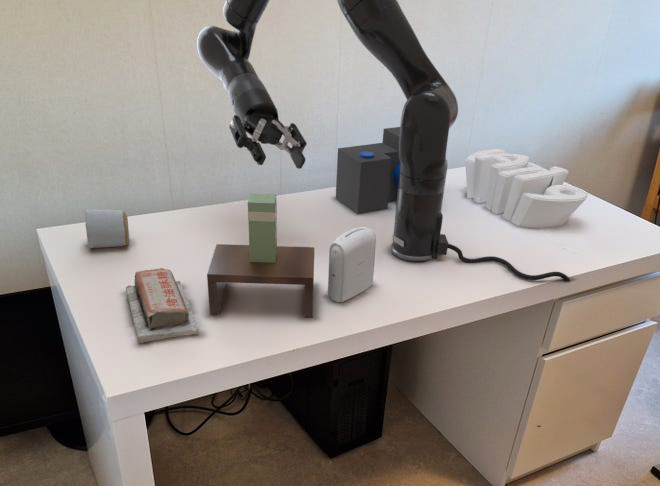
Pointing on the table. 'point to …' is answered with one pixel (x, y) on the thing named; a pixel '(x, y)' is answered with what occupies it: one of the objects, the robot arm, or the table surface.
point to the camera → (369, 174)
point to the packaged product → (159, 306)
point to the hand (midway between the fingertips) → (282, 163)
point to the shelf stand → (260, 272)
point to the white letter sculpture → (521, 189)
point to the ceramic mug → (106, 228)
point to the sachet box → (262, 227)
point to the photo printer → (351, 263)
